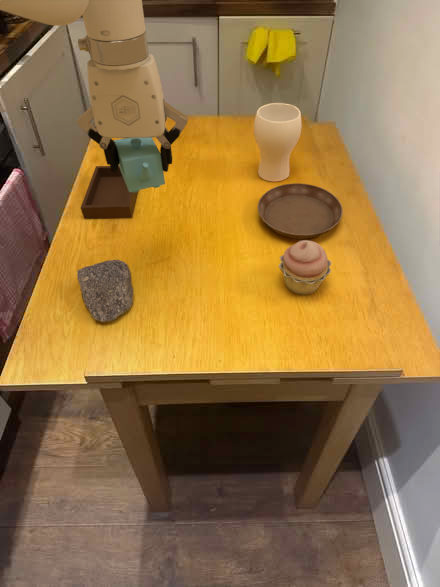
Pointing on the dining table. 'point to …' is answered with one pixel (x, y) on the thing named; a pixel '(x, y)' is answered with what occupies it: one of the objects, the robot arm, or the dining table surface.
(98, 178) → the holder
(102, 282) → the rock
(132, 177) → the teapot
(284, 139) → the cup
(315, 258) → the cupcake
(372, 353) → the dining table surface
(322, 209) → the plant saucer
